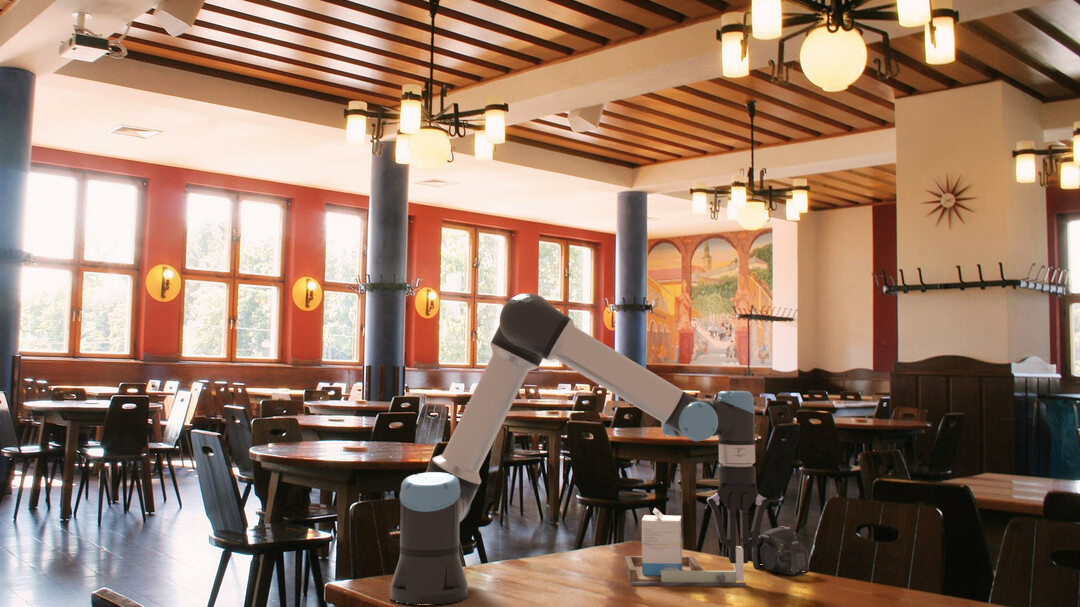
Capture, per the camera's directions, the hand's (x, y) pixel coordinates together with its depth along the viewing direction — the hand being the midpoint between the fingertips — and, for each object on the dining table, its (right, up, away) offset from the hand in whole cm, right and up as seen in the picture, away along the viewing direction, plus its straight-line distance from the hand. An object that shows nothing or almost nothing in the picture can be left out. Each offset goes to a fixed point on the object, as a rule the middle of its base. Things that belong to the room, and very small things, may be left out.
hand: (738, 579), depth 185 cm
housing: (-11, -2, +7) cm, 13 cm away
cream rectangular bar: (-8, -1, 0) cm, 8 cm away
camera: (+12, -2, +12) cm, 17 cm away
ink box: (-15, -1, +8) cm, 17 cm away
